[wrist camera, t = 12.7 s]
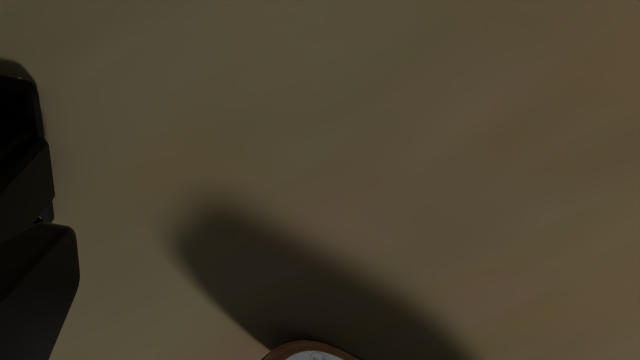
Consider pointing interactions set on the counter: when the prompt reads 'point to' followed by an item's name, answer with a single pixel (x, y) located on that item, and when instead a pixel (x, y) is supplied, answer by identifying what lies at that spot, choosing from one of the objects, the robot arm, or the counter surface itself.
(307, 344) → the tin
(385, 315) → the counter surface
